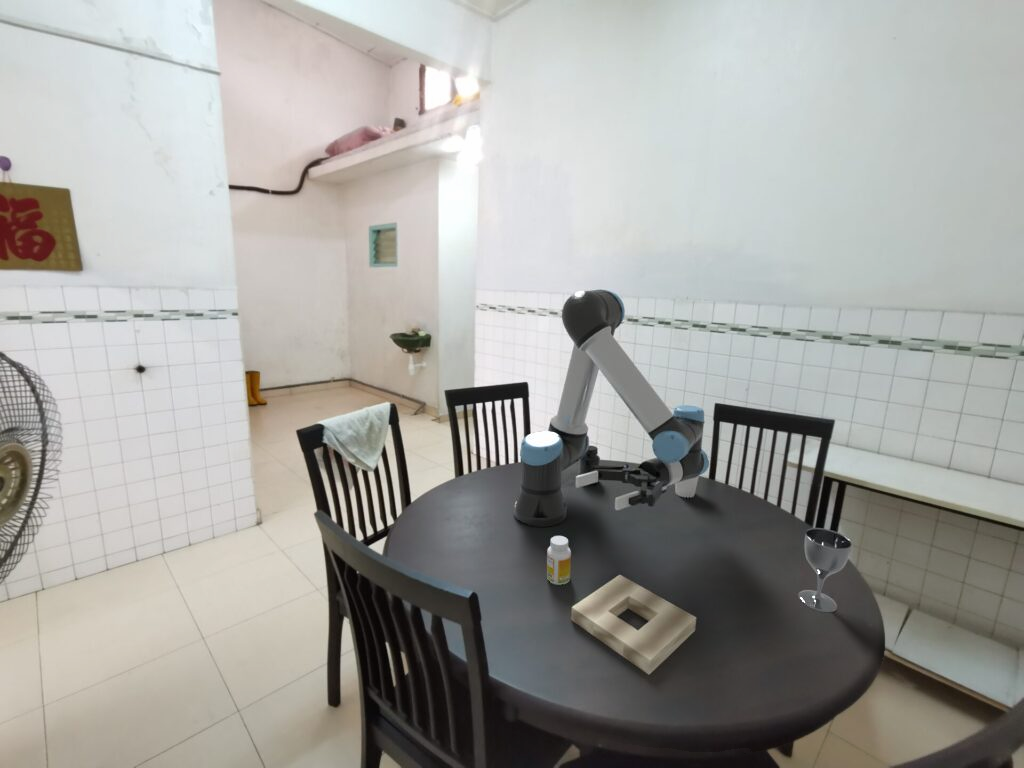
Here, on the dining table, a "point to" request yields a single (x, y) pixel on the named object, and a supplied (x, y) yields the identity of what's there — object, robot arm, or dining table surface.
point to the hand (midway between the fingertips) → (595, 492)
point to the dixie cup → (686, 487)
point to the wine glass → (824, 564)
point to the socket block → (635, 645)
